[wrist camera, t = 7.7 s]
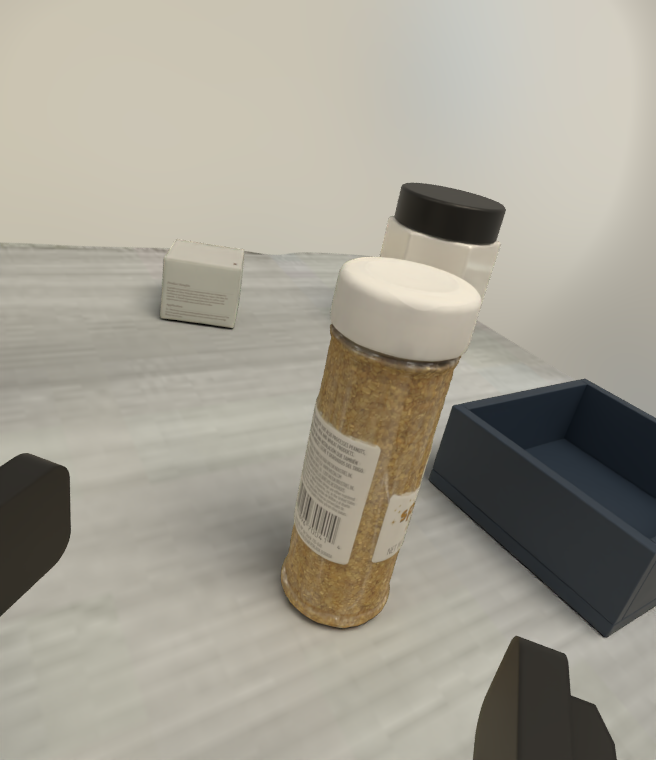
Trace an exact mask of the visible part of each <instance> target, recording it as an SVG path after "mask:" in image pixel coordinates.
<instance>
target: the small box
mask: <svg viewBox="0 0 656 760" xmlns="http://www.w3.org/2000/svg"><path fill="white" fill-rule="evenodd" d="M243 264H244V249H237V248H230V247H222V246H216V245H210V244H204V243H198V242H192V241H185V240H180V239H176V241H175V242H174V244H173V246H172V247H171V249H170V250H169V252H168V253H167V254H166V256H165V257H164V259H163V279H162V295H161V309H160V317H161V318H165V319H173V320H181V321H188V322H195V323H202V324H209V325H216V326H223V327H229V328H234V325H235V320H236V315H237V310H238V305H239V299H240V292H241V284H242V274H243Z"/></svg>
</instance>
